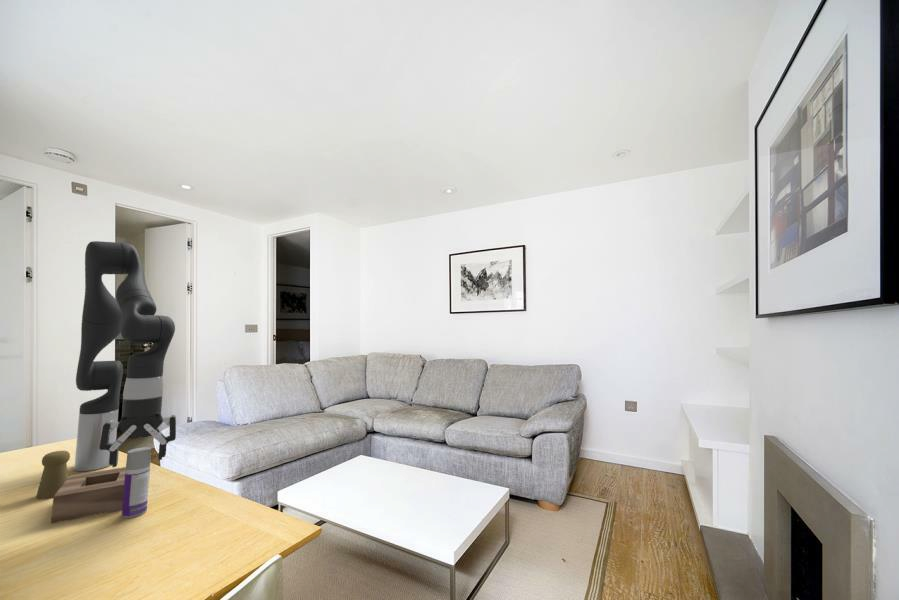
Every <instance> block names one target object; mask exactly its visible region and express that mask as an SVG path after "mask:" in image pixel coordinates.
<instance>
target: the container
mask: <svg viewBox="0 0 899 600" xmlns="http://www.w3.org/2000/svg"><path fill="white" fill-rule="evenodd" d="M126 455H127V456H126V465H125V467H126V470H125V481H124V493H123V506H122V510H121V518H123V519H133V518H137V517H139V516H142V515H144V514H145V513H147V511H148V510H147V509H148V499H149V488H150V486H149V485H150V474H151V457H152V448H151V447H146V446H144V447H137V448H133V449H130V450H128V451H127V454H126Z"/></svg>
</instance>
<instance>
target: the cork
mask: <svg viewBox="0 0 899 600" xmlns="http://www.w3.org/2000/svg"><path fill="white" fill-rule="evenodd" d="M70 458H71V453H70V452H69V451H67V450H56V451H51V452H49V453H46V454H44V456H43V457H42V458H41V464H42V466H43V471H42V473H41V478H40V481H39V485H38V489H37V492H36V496H35V498H36V500H40V499H43V500H50V499H53V497H54V495H55V494H56V493H57V492H58V490H59V489H60V488H61V486H62V485H63V484H64V483H65V481H66V480H67V479H68V477H69V475H68V474H69V473H68V464H67V463H68V461H69V460H70Z"/></svg>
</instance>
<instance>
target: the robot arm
mask: <svg viewBox="0 0 899 600" xmlns="http://www.w3.org/2000/svg"><path fill="white" fill-rule="evenodd" d="M103 275H126V277H125V278H124V280H122V282H120V284H119V286H118V287H117V289H116V292H115V297H114V296H113V294H111V293H110V291H109V290H108V289H107V287H106V286H105V284H104V282H103V278H102V277H103ZM84 276H85V277H84V280H85V281H84V282H85V284H84V285H85V286H84V299H83V306H82V307H83V308H82V314H81V315H82V316H81V336H80V338H81V341H80V351H79V356H78V357H79V358H78V361H77V362H78V364H77V369H76V376H75V385H76V388H77V389H78V390H79V391H83V392H84V391H85V392H86V391H87V392H88V391H89V392H90V391H103V390H106V392H105V393H104V394H103V395H101V396H98V397H96V398H94V399H90V400H88V401H85V402H83V403H81V404H80V406H79V414H78V424H77V435H76V447H75V457H74V467H73V470H74V471H75V472H89V471H94V470H101V469H103V468H107V467H110V466H112V468H117V467H118V462H119V461H118V460H119V453H120V452H119V451H120V448H119V447H120V446H122V444H123V443H124V442H125V441H126V439H132V440H133V439H135V440H137V439H138V438H148V437H151V436H152V437H153V438H154V439H155V440H156V441H157V442H158V443H159V445H158V457H157V458H158V459H157V461H161V460H163V458H165V457H166V454H167V445H168V443H170V442H172V441H175V440H176V437H177V416H176V415H174V414H172V415H170V416H166V417H163V416H162V405H163V393H164V380H163V379H164V378H163V375H164V365H165V363H164V362H165V359H166V355H167V353H168V350H169V347H170V344H171V342H172V340H173V338H174V335H175V332H176V325H175V321H174V320H173V318H171V317H170V316H167V315H158V314H157V315H156V312H157V306H156V303H155V301H154V299H153V297H152V295H151V293H150V291H149V289H148V286H147V283H146V278H145V273H144V270H143V265H142V261H141V258H140V254H139V252H138V250H137V248H136V246H134V245H133V244H130V243H125V242H114V241H98V240H97V241H95V240H94V241H89V242H88V244H87V245H86V248H85V255H84ZM120 335H121V337H122V339H123V341H125V342H127V343H130V344H151V346H150V347H149V349H147V350H145V351H141V352H137V353H133V354H131V355H130V356H129V357H128V359H127V363H126V364H127V365H126V366H127V368H126V379H125V383H124V388H123V393H122V406H121V407H122V410H121V419H120V421H118V420H119V410H120V408H119V407H120V395H121V394H120V393H121V387H122V380H123V373H124V366H123V363H122V361H120V360H97V361H95V360H96V357H97V356H98V355H99V354H100V353H101V352H102V351H103V349H105V348H106V347H108V345H110V344H111V343H112V342H114V340H116V339H117V338H118V336H120ZM163 423H165V425H166V426H168V427H169V435H168V436H165V435H164V434H163V432H162V431H161V430H160V429H159V427H160V426H161V425H162V424H163ZM118 429H119V430H120V431H121V432H122V434H121V435H120V436H119V437H118V438H117V431H118Z"/></svg>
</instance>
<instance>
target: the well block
mask: <svg viewBox="0 0 899 600" xmlns="http://www.w3.org/2000/svg"><path fill="white" fill-rule="evenodd" d="M125 470H126V466H124V467H118V468H117V467H116V468H110V469H105V470H104V469H103V470H99V471H91V472H84V473H80V474H79V473H78V474H72V475H68V479H67V480H66V481H65V483H64V484H63V485H62V486H61V488H60V489H59V490H58V492H57V493H56V494H55V495H54V497H53V498H52V500H53V501H52V509H51V518H50V524H51V523H52V524H56V523H61V521H62V522H66V521H65V520H67V521H72V520H76V519H82V518H87V517H90V516H91V515H92V516H96V515H95V514H97V515H101V513H102V514H106V513H111V512H116V511H120V510H121V511H122V506H123V493H124V481H125ZM92 516H91V517H92Z"/></svg>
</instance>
